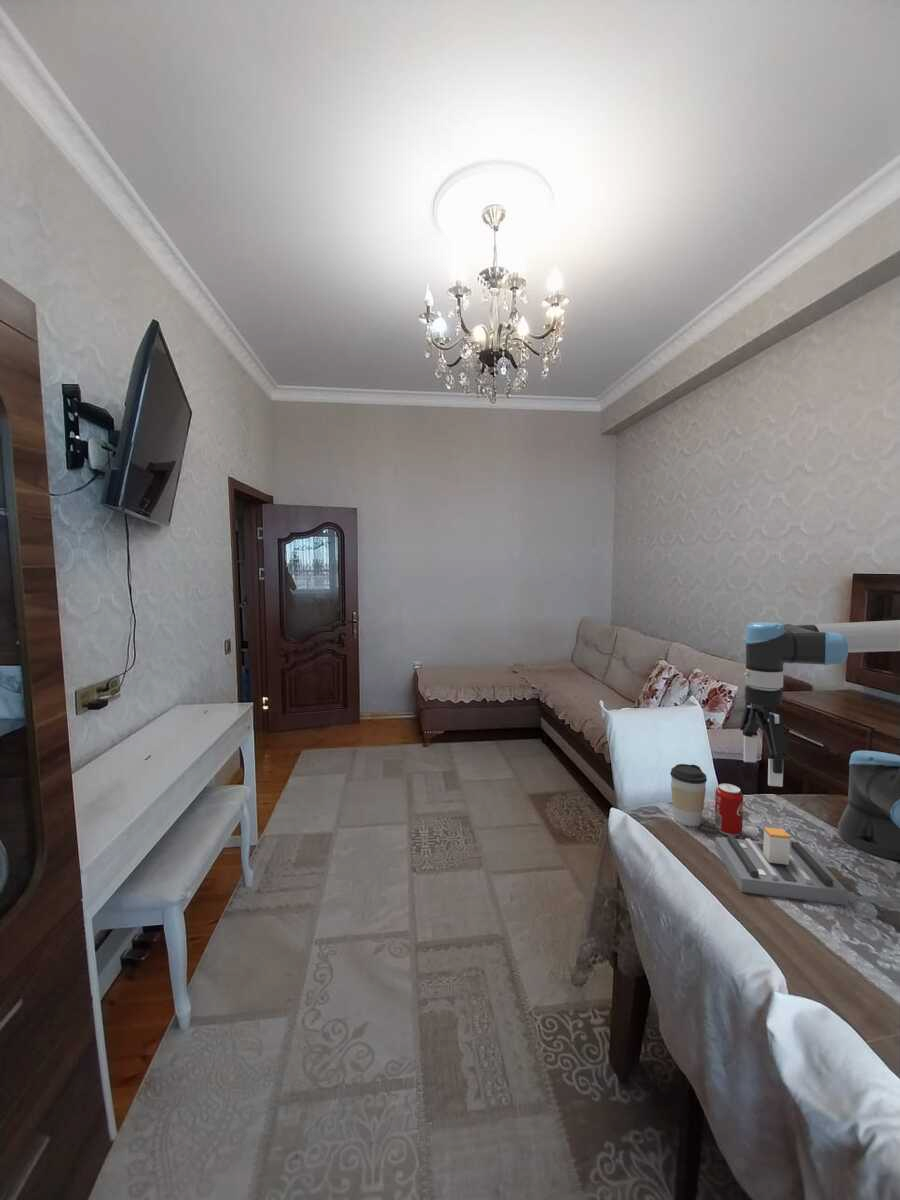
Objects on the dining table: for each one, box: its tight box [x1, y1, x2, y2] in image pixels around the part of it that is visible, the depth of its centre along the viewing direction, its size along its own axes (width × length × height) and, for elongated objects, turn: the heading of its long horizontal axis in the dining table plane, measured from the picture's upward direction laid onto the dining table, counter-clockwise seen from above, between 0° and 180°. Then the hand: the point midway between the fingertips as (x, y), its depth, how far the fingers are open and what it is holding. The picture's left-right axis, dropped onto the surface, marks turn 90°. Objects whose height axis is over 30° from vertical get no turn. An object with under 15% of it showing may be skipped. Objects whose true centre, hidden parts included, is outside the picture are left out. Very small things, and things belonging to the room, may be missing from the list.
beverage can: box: [714, 783, 744, 837], centre depth 123 cm, size 6×6×12 cm
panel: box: [714, 836, 849, 906], centre depth 106 cm, size 20×16×4 cm
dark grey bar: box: [790, 840, 833, 887], centre depth 104 cm, size 2×14×4 cm, turn 168°
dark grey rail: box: [726, 835, 759, 878], centre depth 107 cm, size 2×14×4 cm, turn 168°
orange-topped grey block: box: [763, 827, 791, 865], centre depth 105 cm, size 4×3×7 cm
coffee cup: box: [670, 763, 708, 827], centre depth 129 cm, size 9×9×15 cm
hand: (761, 773), depth 112 cm, fingers open, 13 cm apart
